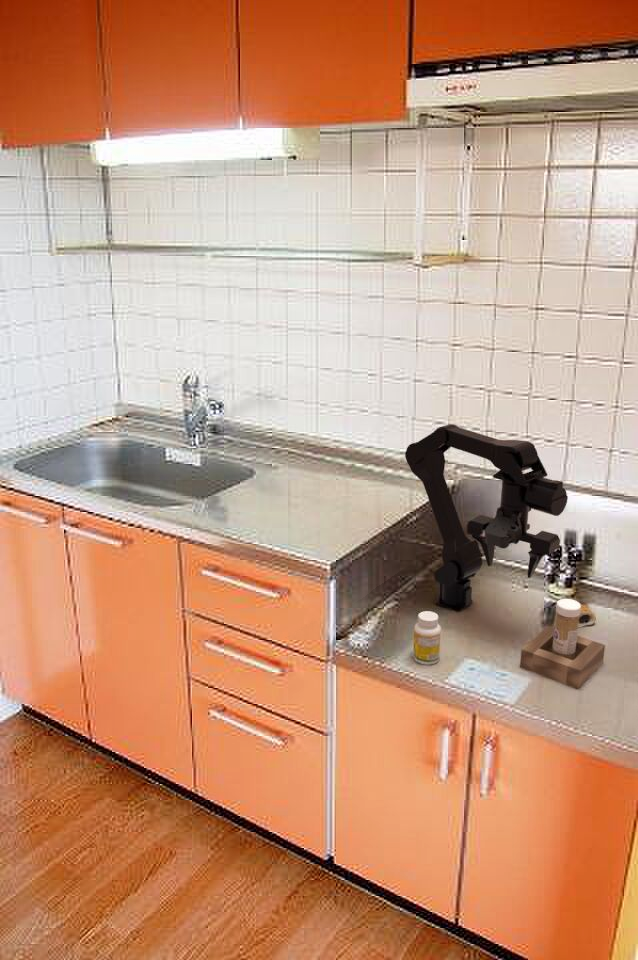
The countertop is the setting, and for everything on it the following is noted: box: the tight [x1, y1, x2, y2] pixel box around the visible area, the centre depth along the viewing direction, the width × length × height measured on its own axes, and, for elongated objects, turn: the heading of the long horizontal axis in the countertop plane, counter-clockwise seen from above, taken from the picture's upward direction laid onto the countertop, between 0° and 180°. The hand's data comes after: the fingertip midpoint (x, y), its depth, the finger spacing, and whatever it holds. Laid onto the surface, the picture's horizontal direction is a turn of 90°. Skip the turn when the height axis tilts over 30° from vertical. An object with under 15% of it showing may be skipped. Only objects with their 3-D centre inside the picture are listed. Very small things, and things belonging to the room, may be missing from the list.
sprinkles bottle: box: [552, 598, 581, 660], centre depth 155 cm, size 5×5×13 cm
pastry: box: [578, 603, 597, 628], centre depth 174 cm, size 9×7×4 cm
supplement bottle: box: [412, 610, 442, 666], centre depth 157 cm, size 5×5×10 cm
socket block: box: [519, 625, 606, 690], centre depth 156 cm, size 12×12×4 cm
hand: (509, 571), depth 167 cm, fingers open, 9 cm apart
